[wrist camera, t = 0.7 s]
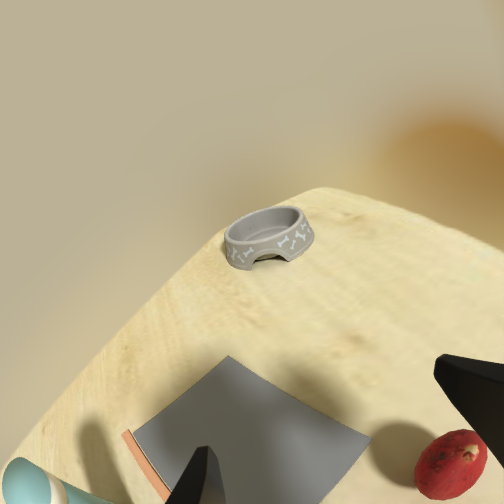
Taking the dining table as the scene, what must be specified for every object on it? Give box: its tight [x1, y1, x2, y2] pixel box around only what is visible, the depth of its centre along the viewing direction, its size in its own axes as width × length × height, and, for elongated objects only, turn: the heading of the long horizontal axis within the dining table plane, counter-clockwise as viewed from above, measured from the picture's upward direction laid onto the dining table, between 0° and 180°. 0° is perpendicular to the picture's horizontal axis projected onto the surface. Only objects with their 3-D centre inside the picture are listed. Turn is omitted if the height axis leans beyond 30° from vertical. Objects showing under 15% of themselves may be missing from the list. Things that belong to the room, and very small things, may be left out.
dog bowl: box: [224, 206, 314, 271], centre depth 54 cm, size 17×18×5 cm
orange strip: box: [122, 430, 171, 502], centre depth 16 cm, size 22×1×1 cm, turn 44°
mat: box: [133, 356, 372, 504], centre depth 21 cm, size 16×20×1 cm
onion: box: [414, 429, 487, 500], centre depth 10 cm, size 6×6×8 cm
